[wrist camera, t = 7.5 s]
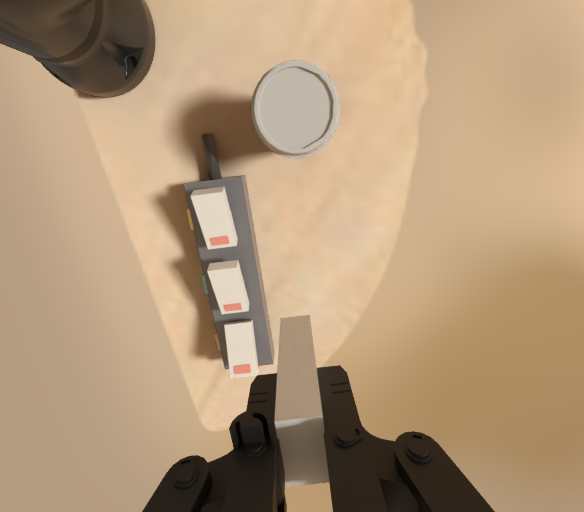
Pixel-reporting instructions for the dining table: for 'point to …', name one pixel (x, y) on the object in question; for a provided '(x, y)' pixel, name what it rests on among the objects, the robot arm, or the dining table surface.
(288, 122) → the disposable coffee cup
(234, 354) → the cream rocker switch
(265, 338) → the power strip
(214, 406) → the dining table surface
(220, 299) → the cream switch plate
